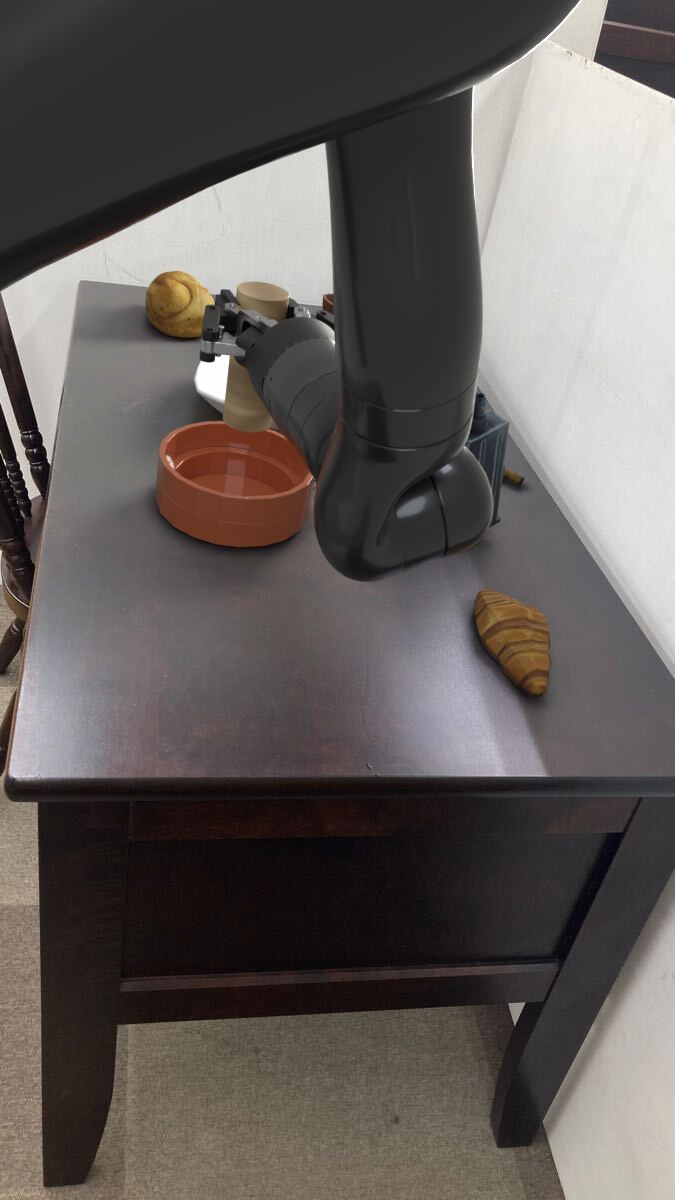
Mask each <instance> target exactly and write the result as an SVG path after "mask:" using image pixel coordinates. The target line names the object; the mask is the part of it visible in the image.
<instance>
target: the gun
mask: <svg viewBox="0 0 675 1200" xmlns="http://www.w3.org/2000/svg"><path fill="white" fill-rule="evenodd" d="M486 395H487V394H485V393H483V392H478V391H477V392H476V398H475V404H474V414H473V420H472V426H471V430H470V434H469V437H468V439H467V442H466V444H465V446H466V447H467V448H468V449H469V450H470V451H471V453H472V454H473V455H474V456H475V458H476V459H477V460H478V462H479V463H480V465H481V466H482V468H483V470H484V471H485V473H486V476H487V478H488V480H489V483H490V487H491V490H492V495H493V515H492V519H491V522H490V525H489V528H488V530H489V529H490V528H492V527H495V526H496V525H497V524H499V523H500V522H501V519H502V518H501V516H500V515H498V514H499V505H500V504H499V503H500V497H501V489H502V483H503V482H502V481H503V478H502V475H504V473H505V469H506V466H505V459H506V452H507V443H508V435H509V428H510V421H509V420H507V419H506V418H504V417H503V416H501V415H499V414H498V413H496V411H493V410H491V409H488V410H486V402H487V396H486Z"/></svg>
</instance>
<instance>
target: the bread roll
mask: <svg viewBox="0 0 675 1200" xmlns="http://www.w3.org/2000/svg"><path fill="white" fill-rule="evenodd" d="M206 305H215V299H213V297H212V294H211V293H210V292H209V290H208V288H206V287H204V286H203V285H202V283H201V282H200V281H199V280H197V278H195V277H194V276H193V275H191V274H190V273H187V272H184V271H181V270H173V271H164V272H161V273H160V274H158V275H157V276H156V277H154V279H152V281H151V282H150V284H149V285H148V287H147V290H146V293H145V311H146V315H147V317H148V320H149V321H150V323H151V324H152V326H153V327H154V328H155V329H156V330H157V331H159V332H161V333H162V334H164V335H166V336H170V337H174V338H181V339H182V338H183V339H185V338H186V339H187V338H198V337H201V335H202V326H203V319H204V312H205V306H206Z"/></svg>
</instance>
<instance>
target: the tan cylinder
mask: <svg viewBox="0 0 675 1200" xmlns="http://www.w3.org/2000/svg"><path fill="white" fill-rule="evenodd" d="M289 297H290V293H289V292H288V291H287V290H286V289H285V288H283V287H281V286H279V285H275V284H272V283H269V282H263V281H244V282H240V283H239V284H238V285H237V286H236V293H235V298H236V299H237V301H238V302H239V304H240V307H242V308H243V309H245V310H248V309H254V310H256V311H257V312H259V313H260V314H262V315H263V316H265V317H266V318H267V319H269V320H270V319H274V320H275V321H277V322H278V323H279V322H281V321H283V320H286V317H287V310H288V303H289ZM222 420H223V421H224V422H225V423H226V424H227V425H228V426H229V427H231V428H233V429H236V430H239V431H243V432H262V431H265V430H267V429H268V428H269V427H270V426H271V420H272V417H271V415H270V414H269V412H268V411H267V409H266V407H265V406H264V404H263V403H262V401H261V399H260V398H259V396H258V394H257V393H256V391H255V389H254V387H253V385H252V383H251V380H250V377H249V374H248V370H247V369H246V368H245V367H243V366H241V365H239V364H238V363H237V362H236V361H235V359H234V356H229V365H228V374H227V383H226V393H225V402H224V411H223V415H222Z"/></svg>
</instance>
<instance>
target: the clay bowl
mask: <svg viewBox="0 0 675 1200" xmlns="http://www.w3.org/2000/svg"><path fill="white" fill-rule="evenodd" d="M157 457H158V458H157V468H156V469H157V471H156V472H157V473H156V484H155V485H156V486H155V488H156V489H155V503H156V505H157V508H158V511H159V513H160V515H162V516H163V518H164V519H165V520H166V521H167V522H168V523H169V524H171V526H172V527H174V528H176V529H177V530H179V531H181V532H183V533H185V534H186V535H188V536H190V537H192V538H195V539H198V540H201V541H205V542H207V543H211V544H214V545H219V546H228V547H235V548H251V547H264V546H265V547H266V546H269V545H273V544H276V543H280V542H284V541H286V540H287V539H289V538H291V537H292V536H293V535H296V534H297V533H298V532H300V531H301V529H302V528H303V526H304V524H305V523H306V521H307V517H308V511H309V508H310V501H311V496H312V491H313V487H314V480H315V479H314V477H313V476H312V475H311V473H310V472H309V470H308V469H307V467H306V465H305V463H304V462H303V460H302V459H301V457H300V455H299V454H298V452H297V451H296V449H295V447H294V446H293V445H292V444H291V443H290V442H289V441H288V440H287V439H286V438H285V437H284V435H282V434H280V433H278V432H276V431H273V430H270V429H267V430H265V431H262V432H243V431H239V430H236V429H233V428H231V427H229V426H228V425H227V424H226V423H225V422H224V421H222V420H215V421H214V420H208V421H207V420H206V421H201V422H196V423H190V424H186V425H184V426H181V427H179V428H176V429H174V430H172V431H170V432H169V433H168V434H167V435H166V436H165V437H164V438H163V439H162V440H161V442H160V445H159V450H158V456H157Z"/></svg>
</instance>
